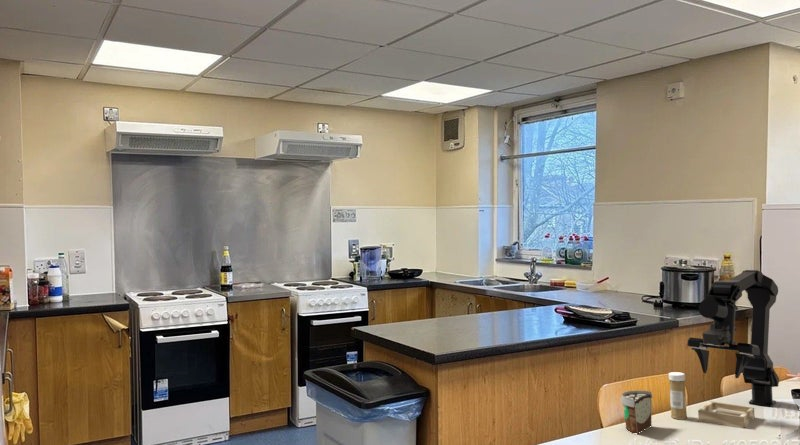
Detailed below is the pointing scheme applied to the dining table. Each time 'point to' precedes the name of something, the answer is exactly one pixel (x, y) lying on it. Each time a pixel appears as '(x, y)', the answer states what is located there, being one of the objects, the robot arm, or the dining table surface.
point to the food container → (637, 410)
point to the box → (726, 414)
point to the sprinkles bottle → (677, 395)
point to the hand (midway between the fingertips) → (720, 375)
